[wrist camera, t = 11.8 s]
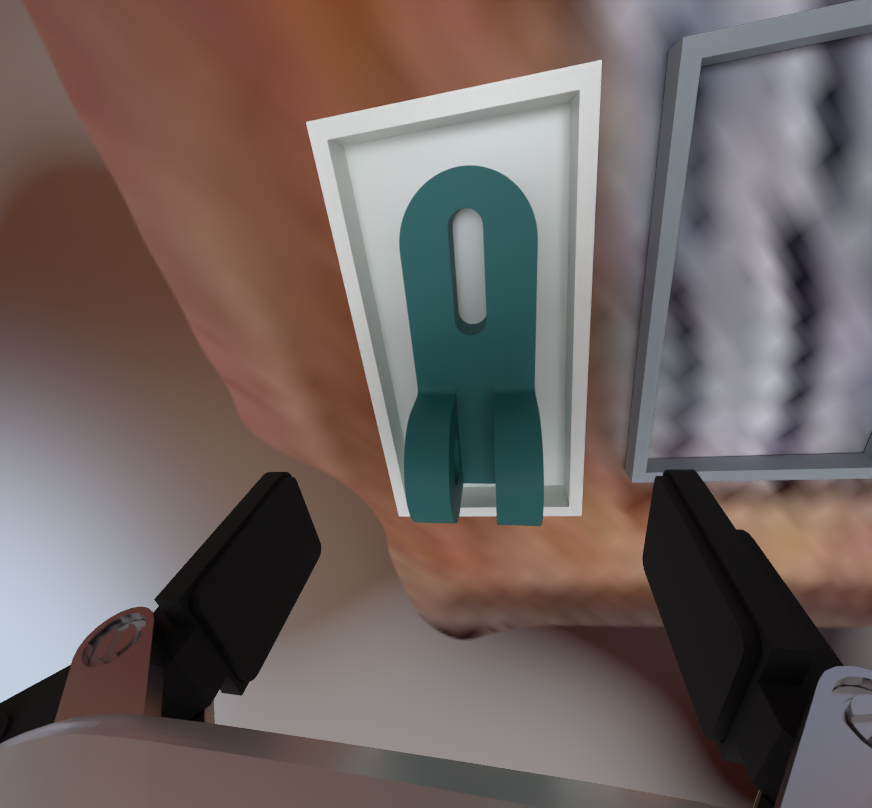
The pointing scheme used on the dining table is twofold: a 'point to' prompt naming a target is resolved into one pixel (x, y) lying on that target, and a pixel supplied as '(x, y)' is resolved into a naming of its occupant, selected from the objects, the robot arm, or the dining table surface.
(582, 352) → the parts tray
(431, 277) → the bracket
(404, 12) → the dining table surface
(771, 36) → the grey rectangular frame
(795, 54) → the dining table surface
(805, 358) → the dining table surface
